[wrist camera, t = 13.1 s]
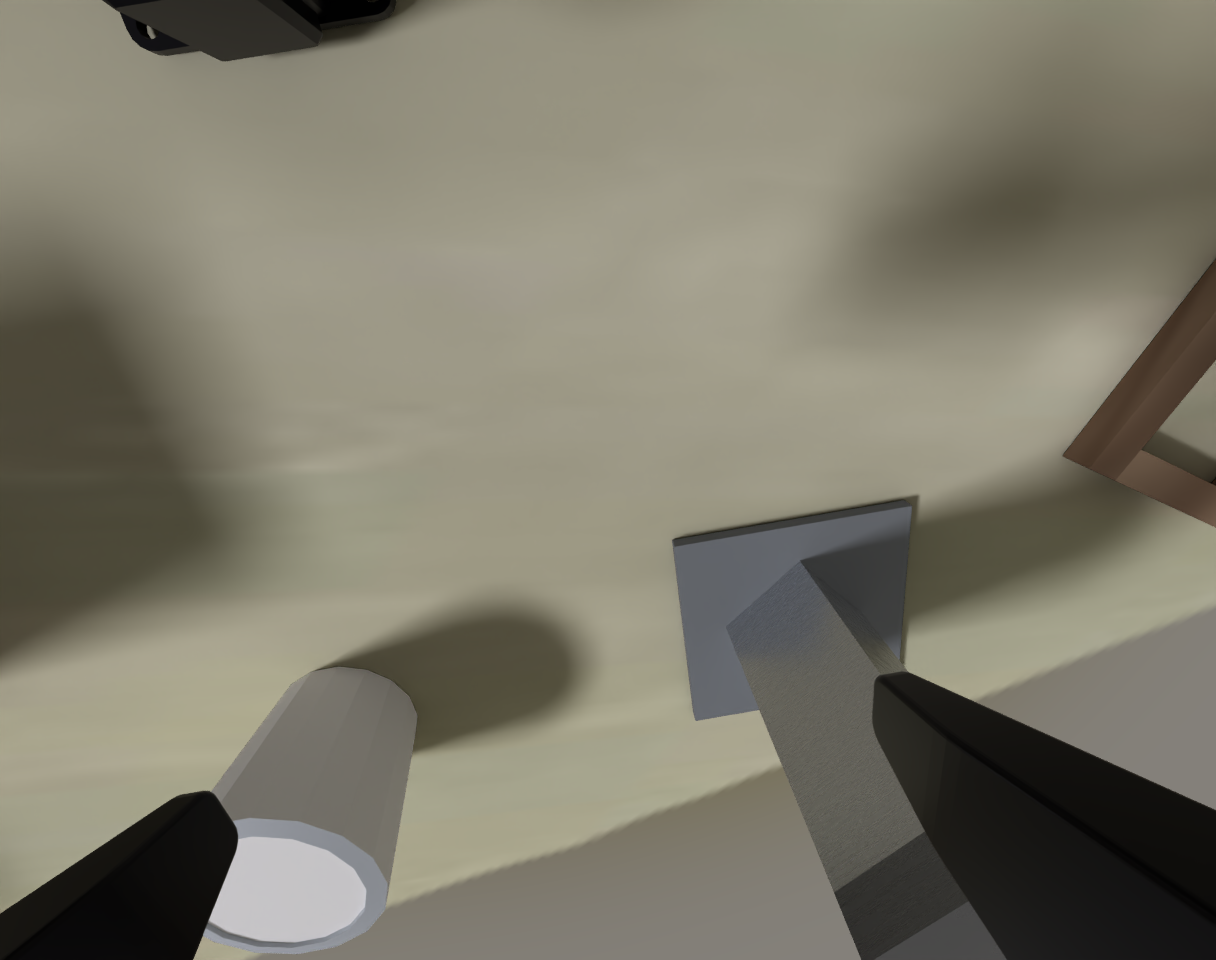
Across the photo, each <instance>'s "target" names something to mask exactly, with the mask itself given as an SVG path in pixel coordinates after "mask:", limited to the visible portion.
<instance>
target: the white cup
mask: <svg viewBox="0 0 1216 960" xmlns="http://www.w3.org/2000/svg"><path fill="white" fill-rule="evenodd" d="M417 717H418V715H417V713H416V710H415V708H414V706H413V703H412V701H411V699H410V697H409V696H408V695H407V694H406V693H405V692H404V691H403V690H402V689H401V688H400V687H398V686H397V685H396V684H395V683H394V682H393V681H392V680H390V679H387V678H385V677H383V676H380V675H378V674H376V673H373V672H371V671H369V670H365V669H356V668H347V667H333V668H328V669H323V670H317V671H312V672H310V673H309V674H307V675H305V676H304V677H302V678H300V679H299V680H297V681H295V682H294V683H292V684H291V685H290V686H289V688H288V689H287V690H286V692H285V693H284V694H283V696H282V697H281V698H280V700H279V701H278V702H277V704H276V705H275V706H274V708H273V709H272V711H271V712H270V713H269V715H268V716H267V717H266V719H265V720H264V721H263V723H262V724H261V725H260V727H259V728H258V729H257V731H256V732H255V733H254V735H253V736H252V737H251V739H250V740H249V741H248V743H247V744H246V745H245V747H244V748H243V749H242V751H241V752H240V754H239V755H238V756H237V758H236V759H235V760H234V762H233V763H232V764H231V766H230V767H229V768H228V770H227V771H226V772H225V774H224V775H223V776H222V778H221V779H220V780H219V782H218V783H217V784H216V786H215V787H214V788H213V790H212V791H211V792H212V793H214V794H215V795H216V796H217V798H218V800H219V801H220V803H221V804H222V806H223V807H224V809H225V810H226V812H227V813H228V815H229V816H230V818H231V819H232V821H233V822H234V824H235V826H236V828H237V831H238V845H237V850H236V853H235V856H234V858H233V861H232V863H231V866H230V868H229V871H228V874H227V876H226V879H225V881H224V884H223V886H222V889H221V891H220V894H219V896H218V899H217V901H216V904H215V906H214V909H213V911H212V914H211V916H210V919H209V921H208V924H207V926H206V929H205V931H204V934H203V936H204V937H206V938H208V939H210V940H212V941H213V942H216V943H220V944H224V945H228V946H232V947H236V948H240V949H244V950H247V951H251V952H256V953H284V954H300V953H305V952H311V951H315V950H321V949H326V948H332V947H336V946H338V945H340V944H343V943H344V942H346V941H349V940H350V939H352V938H354V937H356V936H358V935H360V934H362V933H364V932H366V931H367V930H368V929H369V928H370V927H371V926H372V925H373V923H374V922H375V921H376V920H377V919H378V917H379V916H380V915H381V914H382V913H383V912H384V910H385V908H386V902H387V896H388V890H389V884H390V879H391V873H392V867H393V861H394V856H395V850H396V844H397V838H398V832H399V827H400V821H401V815H402V809H403V803H404V798H405V792H406V786H407V780H408V775H409V769H410V763H411V757H412V751H413V746H414V740H415V734H416V725H417Z"/></svg>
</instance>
